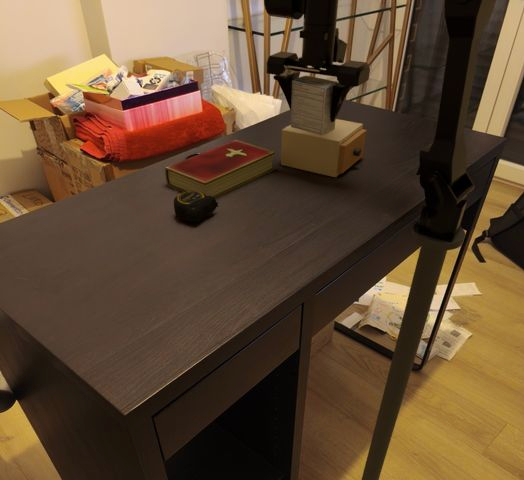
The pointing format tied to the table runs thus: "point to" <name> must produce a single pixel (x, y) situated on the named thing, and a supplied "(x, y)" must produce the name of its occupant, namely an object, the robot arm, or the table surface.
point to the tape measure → (193, 205)
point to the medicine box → (312, 105)
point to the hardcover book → (220, 169)
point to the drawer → (351, 150)
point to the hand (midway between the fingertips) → (313, 118)
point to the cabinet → (316, 147)
